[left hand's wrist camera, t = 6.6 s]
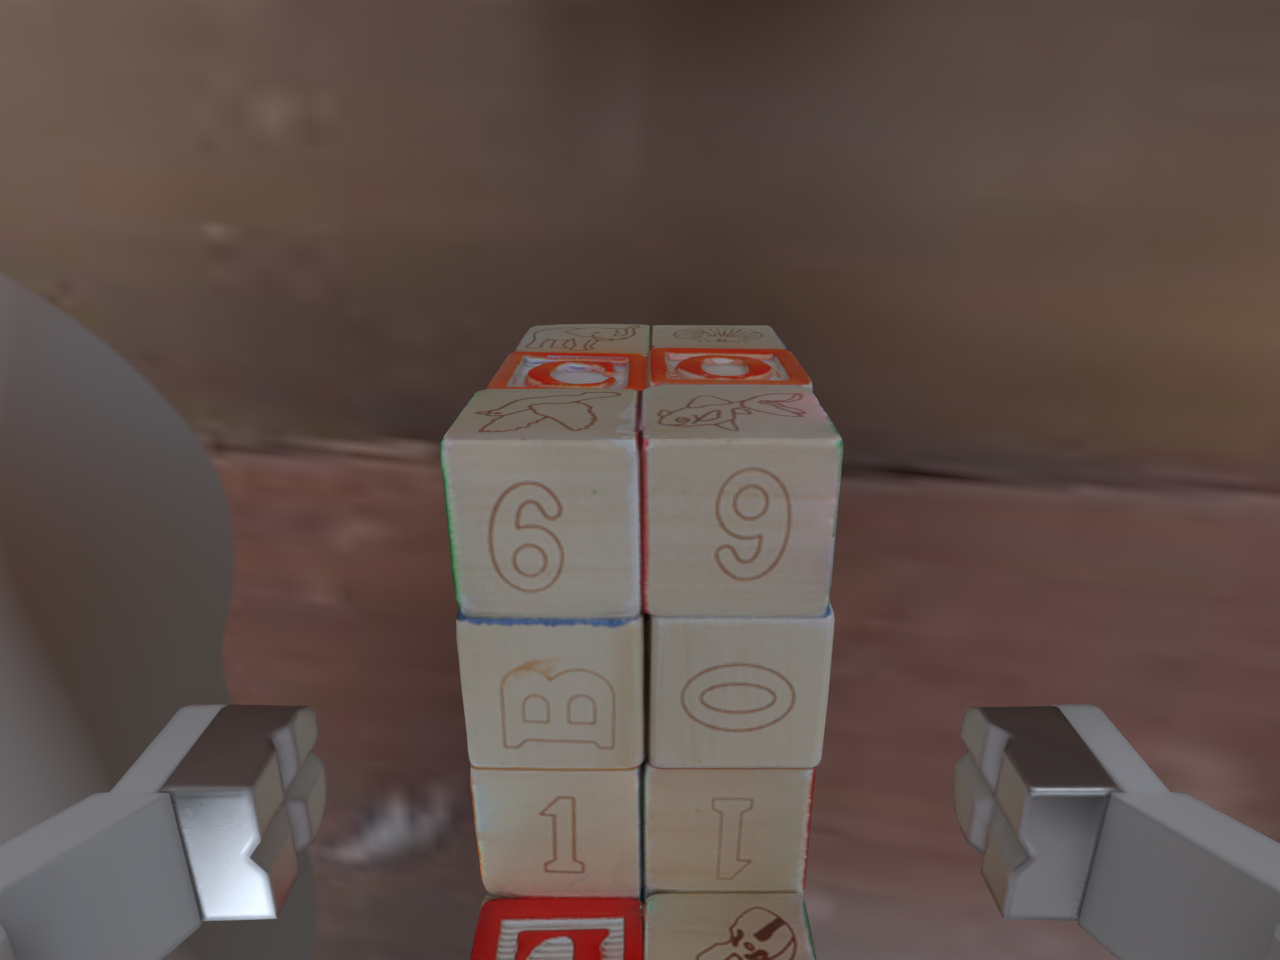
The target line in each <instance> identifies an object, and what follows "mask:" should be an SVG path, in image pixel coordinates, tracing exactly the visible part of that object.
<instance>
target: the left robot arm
mask: <svg viewBox="0 0 1280 960" xmlns="http://www.w3.org/2000/svg"><path fill="white" fill-rule="evenodd" d="M319 735H320V733H319V728H318V723H317V718H316V713H315V712H314V711H313V710H312V709H311V708H310V707H309V706H276V705H224V704H220V705H218V704H191V705H188V706H186V707H183V708H181V709H180V710H179V711H178V712H177V713H176V714H175V715H174V716H173V718H172V719H171V720H170V721H169V722H168V724H167V725H166V726H165V727H164V728H163V729H162V731H161V732H160V733H159V734H158V735H157V737H156V738H155V739H154V740H153V741H152V743H151V744H150V745H149V746H148V747H147V748H146V750H145V751H144V752H143V753H142V754H141V755H140V757H139V758H138V759H137V760H136V761H135V763H134V764H133V765H132V766H131V767H130V769H129V770H128V771H127V772H126V773H125V774H124V776H123V777H122V778H121V779H120V780H119V782H118V783H117V784H116V785H115V786H114V788H113V789H112V790H111V791H110V792H109V793H95V794H93V795H91V796H89V797H87V798H85V799H83V800H81V801H80V802H78V803H76V804H74V805H72V806H70V807H68V808H66V809H64V810H62V811H61V812H59V813H57V814H55V815H53V816H51V817H49V818H47V819H45V820H44V821H42V822H40V823H38V824H36V825H34V826H32V827H30V828H28V829H27V830H25V831H23V832H21V833H19V834H17V835H15V836H13V837H12V838H9V839H8V840H6V841H4V842H2V843H0V960H162V959H163V958H164V957H166V956H167V955H168V954H169V953H170V952H171V951H172V950H174V949H175V948H176V947H177V946H178V945H179V944H180V943H182V942H183V941H184V940H185V939H186V938H187V937H189V936H190V935H191V934H192V933H193V932H194V931H196V930H197V929H198V928H199V927H200V926H201V925H202V923H201V921H217V920H251V919H277V917H278V915H279V913H280V911H281V909H282V907H283V905H284V903H285V901H286V899H287V897H288V894H289V892H290V890H291V888H292V886H293V884H294V882H295V880H296V878H297V876H298V874H299V868H298V862H297V857H296V855H297V854H299V853H300V852H301V851H303V850H304V849H306V848H307V847H308V846H310V845H311V844H312V843H313V842H314V840H315V838H316V836H317V833H318V831H319V829H320V827H321V825H322V821H323V816H324V811H325V807H326V802H327V776H326V769H325V764H324V763H323V762H322V761H321V760H320V759H319V758H318V757H317V756H316V755H315V754H314V753H313V752H312V751H311V750H312V748H313V746H314V744H315V743H316V741H317V739H318V737H319ZM960 735H961V737H962V739H963V741H964V743H965V744H966V746H967V748H968V750H969V751H968V752H967V753H966V754H965V755H964V756H963V757H962V758H961V759H960V760H959V761H958V762H957V763H956V764H955V770H954V778H953V786H952V787H953V799H954V810H955V813H956V817H957V820H958V824H959V827H960V829H961V831H962V834H963V836H964V838H965V840H966V842H967V843H968V844H969V845H970V846H972V847H973V848H974V849H976V850H977V851H979V852H980V853H981V854H983V855H984V857H983V862H982V868H981V874H982V876H983V878H984V880H985V882H986V884H987V886H988V888H989V890H990V892H991V894H992V896H993V899H994V901H995V903H996V905H997V907H998V909H999V911H1000V913H1001V915H1002V917H1003V919H1026V920H1061V921H1079V923H1078V925H1079V926H1080V927H1081V928H1083V929H1084V930H1085V931H1086V932H1087V933H1088V934H1090V935H1091V936H1092V937H1093V938H1094V939H1095V940H1096V941H1098V942H1099V943H1100V944H1101V945H1102V946H1103V947H1104V948H1106V949H1107V950H1108V951H1109V952H1110V953H1111V954H1113V955H1114V956H1115V957H1116V958H1117V959H1118V960H1280V843H1278V842H1276V841H1274V840H1272V839H1270V838H1268V837H1267V836H1265V835H1263V834H1261V833H1259V832H1257V831H1255V830H1253V829H1251V828H1250V827H1248V826H1246V825H1244V824H1242V823H1240V822H1238V821H1236V820H1234V819H1233V818H1231V817H1229V816H1227V815H1225V814H1223V813H1221V812H1219V811H1217V810H1216V809H1214V808H1212V807H1210V806H1208V805H1206V804H1204V803H1202V802H1200V801H1199V800H1197V799H1195V798H1193V797H1191V796H1189V795H1187V794H1185V793H1171V792H1170V791H1169V790H1168V789H1167V788H1166V786H1165V785H1164V784H1163V783H1162V782H1161V780H1160V779H1159V778H1158V777H1157V776H1156V775H1155V773H1154V772H1153V771H1152V770H1151V769H1150V767H1149V766H1148V765H1147V764H1146V763H1145V762H1144V760H1143V759H1142V758H1141V757H1140V756H1139V754H1138V753H1137V752H1136V751H1135V750H1134V748H1133V747H1132V746H1131V745H1130V744H1129V743H1128V741H1127V740H1126V739H1125V738H1124V737H1123V735H1122V734H1121V733H1120V732H1119V731H1118V730H1117V728H1116V727H1115V726H1114V725H1113V724H1112V722H1111V721H1110V720H1109V719H1108V718H1107V717H1106V715H1105V714H1104V713H1103V712H1102V711H1101V709H1099V708H1097V707H1095V706H1093V705H1091V704H1070V705H1049V706H1031V707H968V709H967V711H966V713H965V715H964V717H963V721H962V727H961V733H960Z"/></svg>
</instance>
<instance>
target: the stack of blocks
mask: <svg viewBox="0 0 1280 960" xmlns="http://www.w3.org/2000/svg"><path fill="white" fill-rule="evenodd" d="M843 447H844V446H843V441H842V438H841V436H840V435H839V433H838V431H837V430H836V428H835V426H834V424H833V422H832V421H831V419H830V418H829V416H828V415H827V414H826V412H825V411H824V410H823V408H822V407H821V406H820V404H819V402H818V400H817V398H816V397H815V395H814V394H813V385H812V381H811V379H810V378H809V376H808V375H807V374H806V372H805V371H804V369H803V368H802V366H801V365H800V363H799V362H798V361H797V360H796V358H795V357H794V355H793V354H792V353H791V352H790V351H788V350H787V348H786V346H785V345H784V344H783V342H782V341H781V340H780V338H779V337H778V336H777V335H776V333H775V332H774V330H773V329H772V328H771V327H770V326H767V325H745V326H740V325H656V326H650V325H637V324H559V325H543V326H534V327H531V328H530V329H529V330H528V331H527V332H526V334H525V335H524V336H523V338H522V339H521V340H520V342H519V344H518V346H517V347H516V350H515V351H514V352H512V353H510V354H509V355H508V356H507V358H506V359H505V361H504V362H503V363H502V365H501V367H500V368H499V370H498V371H497V373H496V374H495V375H494V376H493V378H492V380H491V381H490V383H489V385H488V387H487V389H486V390H481V391H478V392H476V393H475V394H474V396H473V397H472V398H471V400H470V401H469V402H468V405H467V406H466V407H465V408H464V409H463V410H462V412H461V413H460V414H459V416H458V418H457V419H456V420H455V422H454V423H453V425H452V426H451V427H450V429H449V430H448V431H447V433H446V434H445V436H444V437H443V439H442V441H441V459H440V461H441V468H442V475H443V484H444V494H445V504H446V513H447V522H448V531H449V539H450V553H451V564H452V573H453V580H454V585H455V593H456V600H457V603H458V606H459V612H458V616H457V619H456V639H457V648H458V657H459V667H460V678H461V688H462V697H463V706H464V714H465V723H466V732H467V744H468V755H469V760H470V762H471V772H470V788H471V793H472V806H473V815H474V824H475V831H476V838H477V846H478V855H479V863H480V872H481V878H482V881H483V884H484V886H485V889H486V890H487V891H486V895H485V897H484V899H483V901H482V903H481V908H480V913H479V917H478V921H477V925H476V929H475V933H474V941H473V948H472V952H471V956H470V960H816V956H815V951H814V946H813V940H812V935H811V930H810V924H809V919H808V915H807V911H806V906H805V902H804V897H803V892H804V887H805V878H806V866H807V856H808V845H809V833H810V822H811V812H812V802H813V792H814V779H815V767H816V766H817V765H818V764H819V763H820V760H821V756H822V747H823V738H824V729H825V720H826V711H827V702H828V692H829V681H830V669H831V657H832V645H833V634H834V622H835V618H834V612H833V609H832V607H831V604H830V601H829V596H830V589H831V580H832V569H833V558H834V545H835V535H836V525H837V515H838V500H839V492H840V482H841V470H842V459H843Z"/></svg>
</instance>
